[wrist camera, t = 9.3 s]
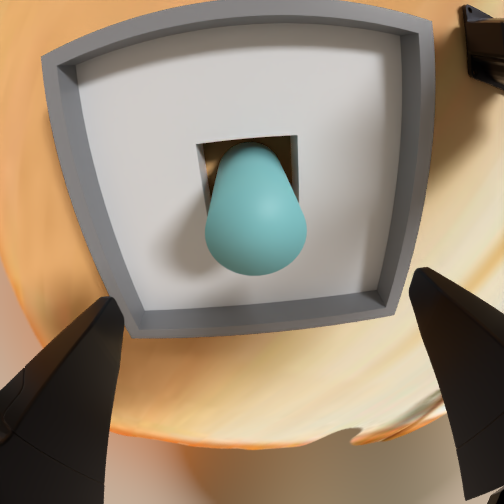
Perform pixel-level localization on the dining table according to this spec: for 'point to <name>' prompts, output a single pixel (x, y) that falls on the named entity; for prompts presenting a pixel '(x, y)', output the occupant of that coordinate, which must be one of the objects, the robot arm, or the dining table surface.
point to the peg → (254, 213)
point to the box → (240, 127)
